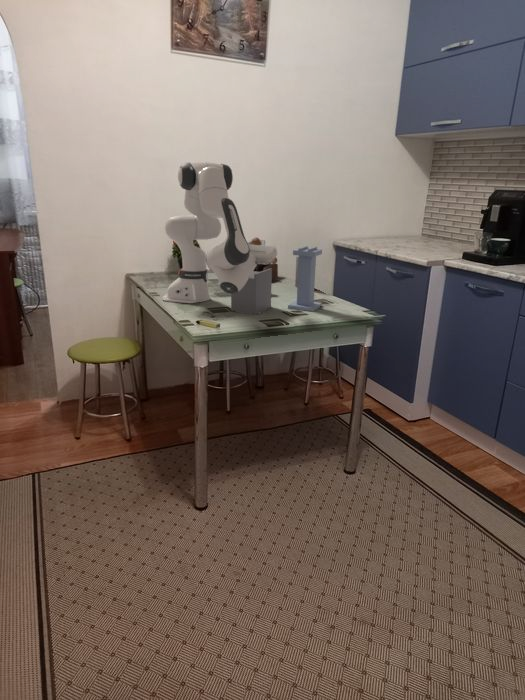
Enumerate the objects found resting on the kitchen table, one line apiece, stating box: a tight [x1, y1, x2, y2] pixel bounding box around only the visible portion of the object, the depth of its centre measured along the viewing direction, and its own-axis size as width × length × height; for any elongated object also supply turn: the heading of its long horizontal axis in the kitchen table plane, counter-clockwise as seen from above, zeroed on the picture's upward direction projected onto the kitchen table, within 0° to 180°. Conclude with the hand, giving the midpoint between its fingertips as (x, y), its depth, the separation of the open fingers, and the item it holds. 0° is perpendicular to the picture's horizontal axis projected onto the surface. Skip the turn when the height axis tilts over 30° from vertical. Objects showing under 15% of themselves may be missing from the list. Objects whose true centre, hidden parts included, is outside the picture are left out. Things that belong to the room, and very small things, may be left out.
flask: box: [294, 256, 299, 288], centre depth 269 cm, size 4×14×18 cm, turn 21°
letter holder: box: [254, 262, 279, 279], centre depth 294 cm, size 10×20×14 cm, turn 155°
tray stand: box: [230, 268, 273, 315], centre depth 224 cm, size 16×12×18 cm
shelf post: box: [287, 245, 323, 312], centre depth 227 cm, size 12×12×27 cm
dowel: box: [252, 236, 278, 264], centre depth 212 cm, size 22×3×3 cm, turn 155°
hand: (258, 240), depth 204 cm, fingers closed on dowel, 3 cm apart
